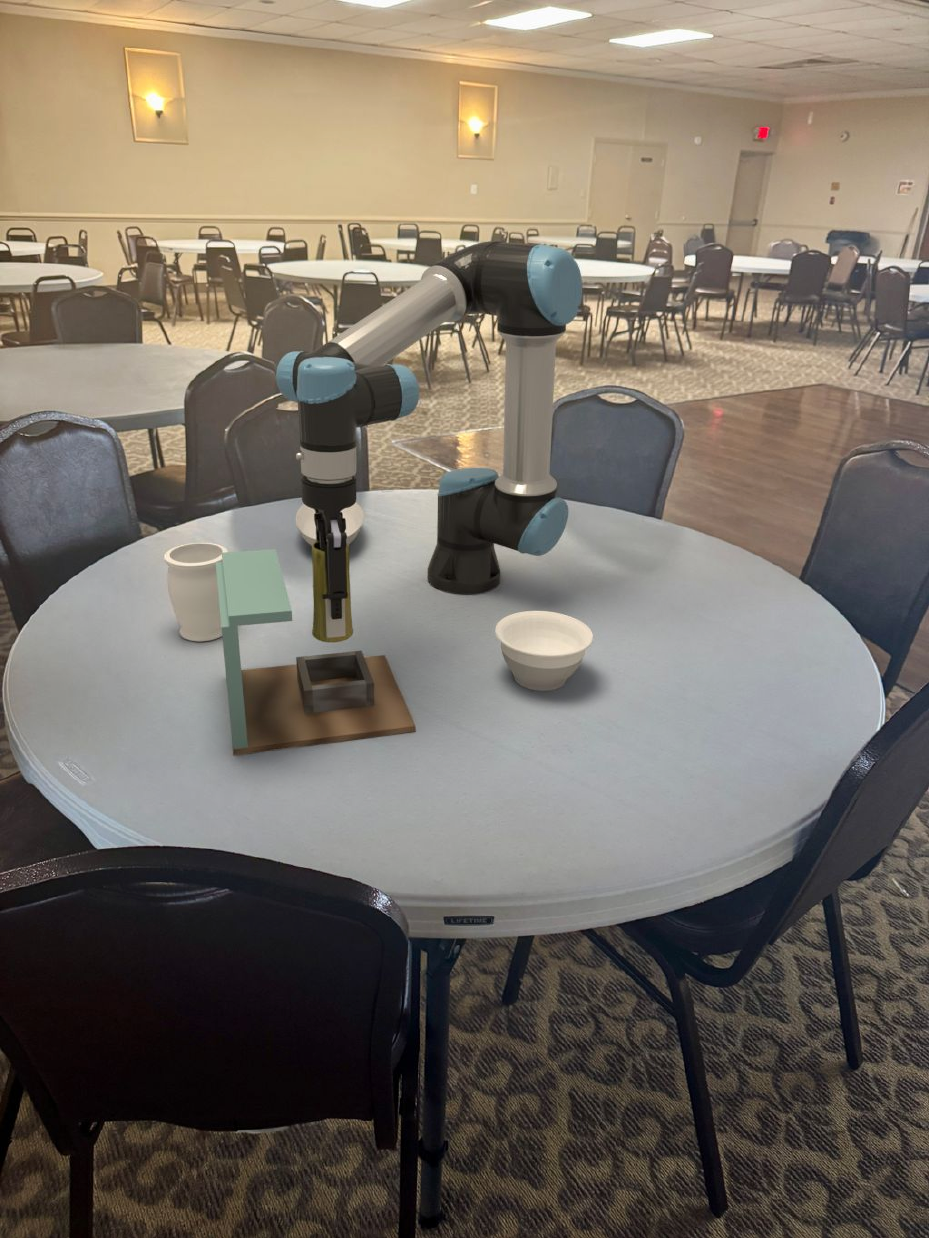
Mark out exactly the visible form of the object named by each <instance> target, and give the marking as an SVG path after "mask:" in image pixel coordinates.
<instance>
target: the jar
mask: <svg viewBox="0 0 929 1238" xmlns="http://www.w3.org/2000/svg"><path fill="white" fill-rule="evenodd" d="M225 552H229V551H228V549H227V548H226V547H224V546H222V545H220V544H217V543H210V542H192V543H191V542H190V543H186V544H181V545H178V546H174V547H172V548H170V549H169V550H167V551H166V552H165V553H164V555H163V556H164V557H163V558H164V562H165V564H166V565H167V566H168V568H167V574H166V575H167V579H166V580H167V581H166V583H167V590H168V596H169V599H170V602H171V605H172V608H173V613H174V615H175V618H176V620H177V621H178V623H179V624H180V628H179V635H180V636H181V637H182V638H183V639H185V640H187V641H191V642H209V641H213V640H216V639H218V638H219V639H220V638H222V628H221V617H220V606H219V595H218V584H217V573H216V562H222V553H225Z"/></svg>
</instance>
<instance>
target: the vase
mask: <svg viewBox="0 0 929 1238" xmlns="http://www.w3.org/2000/svg"><path fill="white" fill-rule="evenodd" d="M349 545H350V544H349ZM349 545H348V544H347V543H346V568H347V592H348V596H347V599H345V633H346V636H342V637H331V638H327V636H326V607H325V599H322V594H326V593H327V588H326V573H325V552H324V551H323V550H322V549H321V548H320V541H316V542H314V543H313V545H312V546H311V561H312V564H311V565H312V591H313V592H312V593H313V594H312V597H313V599H312V600H313V620H312V631H311V634H312V636H313V638H315V639H316V640H318V641H320V642H323V643H341V642H343V641H347V640H348V639H349V638H351V637H352V636H353V633H354V628H353V621H352V620H353V619H352V601H351V598H352V596H351V581H350V580H351V578H350V576H351V575H350V546H349Z"/></svg>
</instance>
